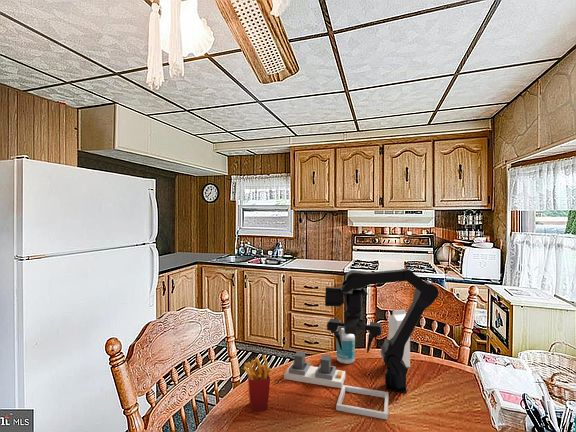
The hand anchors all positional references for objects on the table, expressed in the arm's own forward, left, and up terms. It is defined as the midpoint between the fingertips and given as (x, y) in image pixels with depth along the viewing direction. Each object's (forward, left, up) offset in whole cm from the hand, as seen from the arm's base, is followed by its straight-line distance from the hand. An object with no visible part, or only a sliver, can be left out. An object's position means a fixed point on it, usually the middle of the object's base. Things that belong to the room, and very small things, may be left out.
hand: (354, 350), depth 116 cm
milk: (-15, -22, -12) cm, 29 cm away
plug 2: (+10, 0, -10) cm, 14 cm away
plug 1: (+20, 0, -10) cm, 23 cm away
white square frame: (-4, +11, -12) cm, 17 cm away
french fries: (+28, +23, -12) cm, 38 cm away
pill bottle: (+6, -19, -12) cm, 23 cm away
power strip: (+14, 0, -12) cm, 19 cm away
